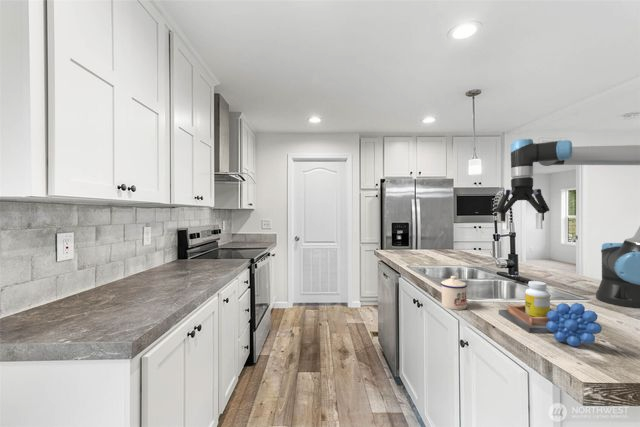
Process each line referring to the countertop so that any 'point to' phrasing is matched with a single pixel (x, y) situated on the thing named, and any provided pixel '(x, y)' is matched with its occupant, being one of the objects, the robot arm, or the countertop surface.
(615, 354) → the countertop surface
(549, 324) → the blue bumpy cluster
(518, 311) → the socket board
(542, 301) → the pill bottle
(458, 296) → the teacup with lid
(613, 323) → the countertop surface
